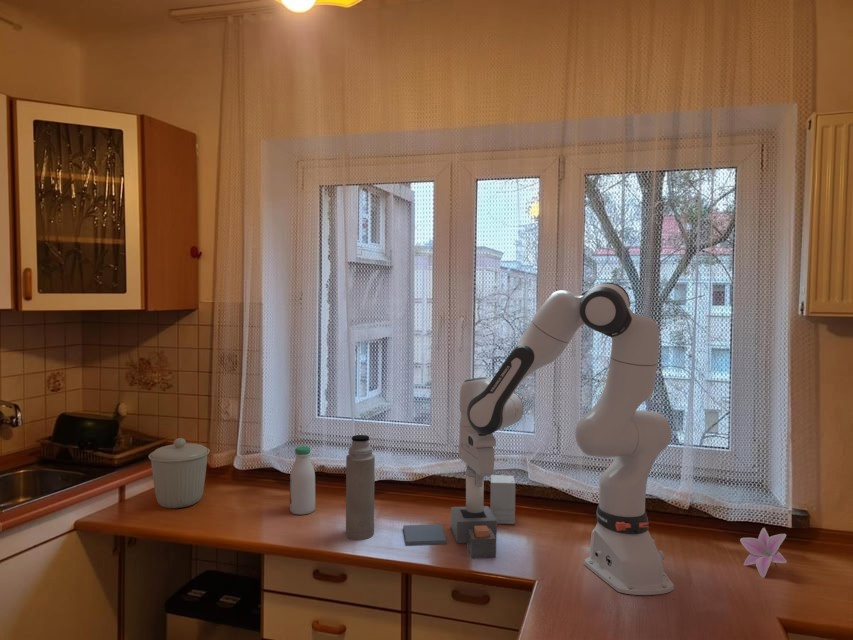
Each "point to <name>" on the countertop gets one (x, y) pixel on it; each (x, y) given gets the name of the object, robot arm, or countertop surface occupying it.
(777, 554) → the lily
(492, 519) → the housing
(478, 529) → the plunger
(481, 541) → the frame
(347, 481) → the thermos bottle
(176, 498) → the canister
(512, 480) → the supplement box
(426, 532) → the mat
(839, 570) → the countertop surface
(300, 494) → the milk bottle
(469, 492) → the cylinder
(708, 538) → the countertop surface
